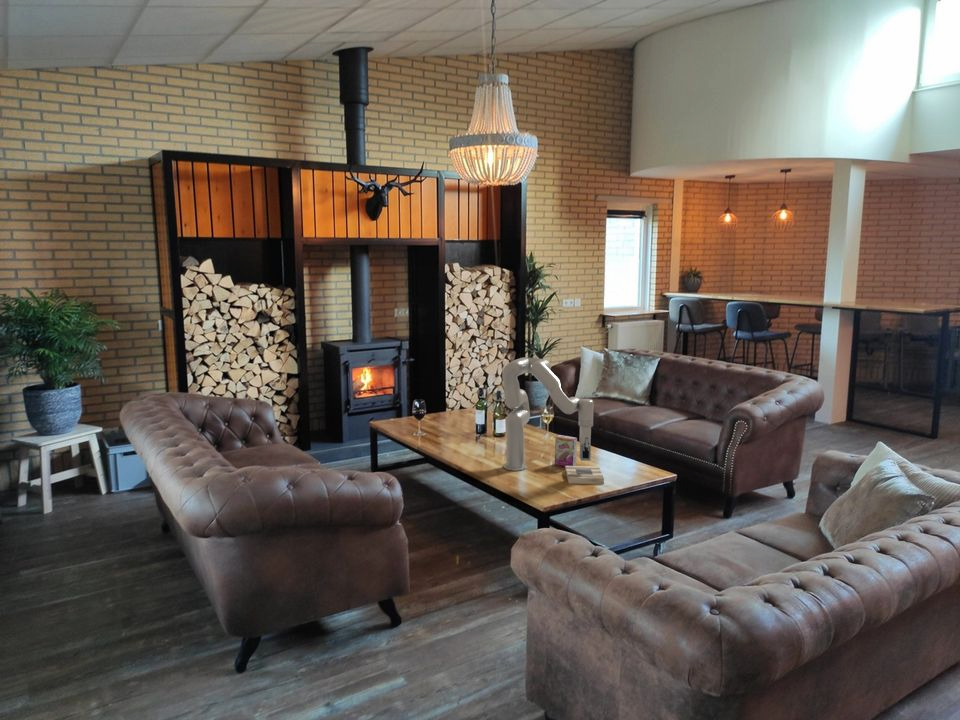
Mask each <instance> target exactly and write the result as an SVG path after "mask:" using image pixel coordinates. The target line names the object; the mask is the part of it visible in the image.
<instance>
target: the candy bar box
mask: <svg viewBox="0 0 960 720" xmlns="http://www.w3.org/2000/svg"><path fill="white" fill-rule="evenodd" d="M577 447H578V438H577V437H573V436H569V435H562V434H558V435H556V436H555V444H554V449H555V450H554V466H559V467H565V466H577V450H578V448H577Z"/></svg>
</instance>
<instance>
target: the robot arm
mask: <svg viewBox="0 0 960 720" xmlns="http://www.w3.org/2000/svg"><path fill="white" fill-rule="evenodd" d="M551 365H552V364H551V362H550V361H548V360H547V359H544V358H535V357H520V358H517V359H514V360H512V361H510V362H508V363H507V364H506V365H505V366H504V368H503V369H502V375H501V377H502V382H503V383H502V385H503V393H504V401H505V405H506V407H507V408H508V409H510V410H512V411H510V412H509V413H508V414H507V416H506V418H505V428H506V463H504V464H503V469H505V470H506V471H514V472H515V471H516V472H518V471H524V470H526V469H527V464H526V463H525V461H524V460H525V431H524V426H525V425H526V424H527V423H529V421H530V418H531V412H530V403H529V397H528V394H527V392H526V390H524V389H521V388H520V382H519V380H518V379H519V378H518V377H519V376H521V375H524V374H526V373H527V374H532V375H533V376H534V378H535V379H537V381H538V382H539V383H540V385H542V386H543V387H544V388H545V390H546V391H547V392H548V394H549V396H550V399H551V400H552V402H553V403H554V404H555V406H556V407H557V408H558V409H559V410H560V411H561V412H563V413H564V414H566V415H572V414H574V413H575V412H578V426H579V440H578V441H579V445H580V444H581V445H583V458H589V445H591V439H592V437H591V436H592V427H593V426H594V408H595V407H594V401H593V399H591V398H581V397H578V396H570V397H568V396H567V395H566V394H565V392H563V390H562V388H561V387H562V386H561V380H560V378H558V376H557V375H556V374H554V372H553V371H552V370H551V368H552V366H551ZM584 444H585V445H584ZM584 446H585V447H584Z"/></svg>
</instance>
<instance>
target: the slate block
mask: <svg viewBox="0 0 960 720" xmlns="http://www.w3.org/2000/svg"><path fill="white" fill-rule="evenodd" d="M584 445H585V444H584ZM584 447H585V446H584ZM591 449H592V445H591V444H590V445H589V458H583V445H581V444H580V443H579V459H580V461H582V462H583V461H584V462H585V461H586V462H587V461H588V462H589V461H591V454H592V453H591V451H592V450H591Z"/></svg>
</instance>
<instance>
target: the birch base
mask: <svg viewBox="0 0 960 720" xmlns="http://www.w3.org/2000/svg"><path fill="white" fill-rule="evenodd" d="M564 472H565V476H566V479H567V483H568V484H576V485H577V484H579V485H580V484H581V485H582V484H583V485H584V484H585V485H586V484H587V485H595V484H596V485H604V484H605V478H604V475H603V472H602V471H601V469H600V466H597V465H595V466H591V465H576V466H565V468H564Z"/></svg>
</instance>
